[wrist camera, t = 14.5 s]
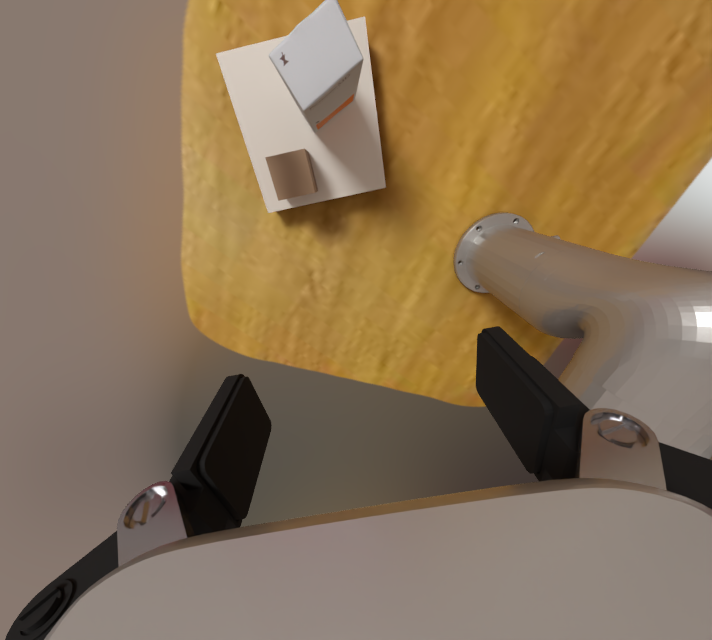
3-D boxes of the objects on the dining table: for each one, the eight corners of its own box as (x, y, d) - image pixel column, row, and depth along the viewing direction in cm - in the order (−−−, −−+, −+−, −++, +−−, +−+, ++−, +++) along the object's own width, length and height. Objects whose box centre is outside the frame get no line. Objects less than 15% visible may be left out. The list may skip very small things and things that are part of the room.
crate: (308, 151, 32) (304, 148, 29) (318, 190, 35) (315, 192, 31) (274, 159, 33) (265, 157, 29) (285, 198, 35) (278, 200, 31)
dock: (362, 30, 30) (364, 16, 27) (382, 186, 37) (385, 187, 35) (226, 64, 31) (215, 53, 28) (273, 210, 38) (268, 212, 36)
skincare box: (315, 134, 32) (301, 114, 21) (291, 96, 30) (264, 53, 19) (357, 99, 30) (365, 58, 20) (335, 57, 29) (332, -13, 18)
